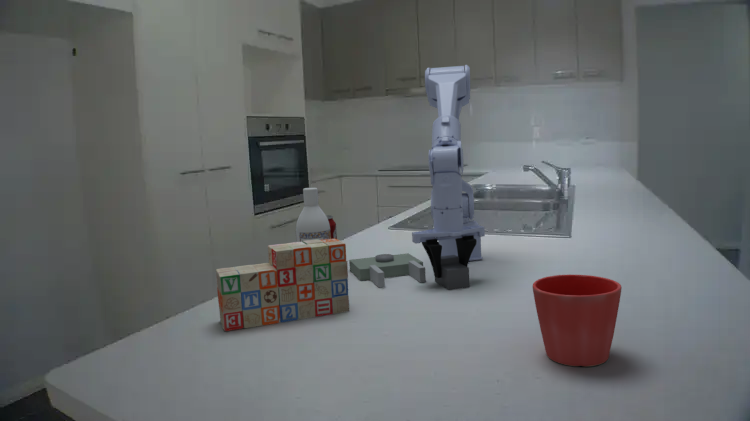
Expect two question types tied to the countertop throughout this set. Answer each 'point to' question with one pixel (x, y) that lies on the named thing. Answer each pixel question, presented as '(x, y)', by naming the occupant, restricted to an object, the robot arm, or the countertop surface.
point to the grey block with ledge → (453, 273)
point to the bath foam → (312, 219)
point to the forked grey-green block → (387, 268)
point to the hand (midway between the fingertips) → (450, 275)
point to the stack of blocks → (285, 285)
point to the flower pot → (577, 317)
